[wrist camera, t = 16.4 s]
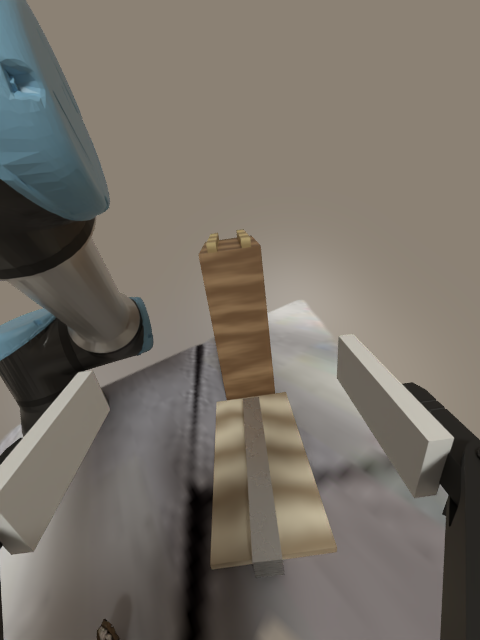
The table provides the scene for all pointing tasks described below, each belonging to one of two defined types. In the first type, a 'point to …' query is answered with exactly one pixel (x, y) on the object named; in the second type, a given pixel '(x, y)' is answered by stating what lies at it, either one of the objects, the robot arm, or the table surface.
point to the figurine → (106, 632)
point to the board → (287, 484)
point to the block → (260, 496)
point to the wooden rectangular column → (238, 314)
